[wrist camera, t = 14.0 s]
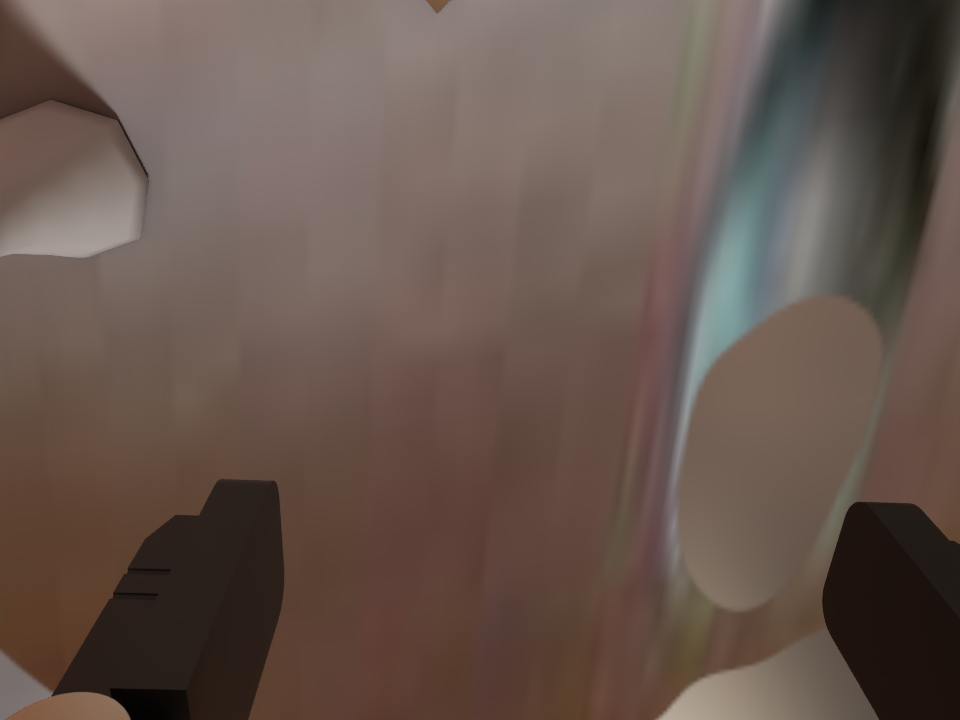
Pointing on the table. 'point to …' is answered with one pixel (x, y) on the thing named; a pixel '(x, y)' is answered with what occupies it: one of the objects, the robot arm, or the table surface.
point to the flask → (67, 183)
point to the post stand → (437, 4)
